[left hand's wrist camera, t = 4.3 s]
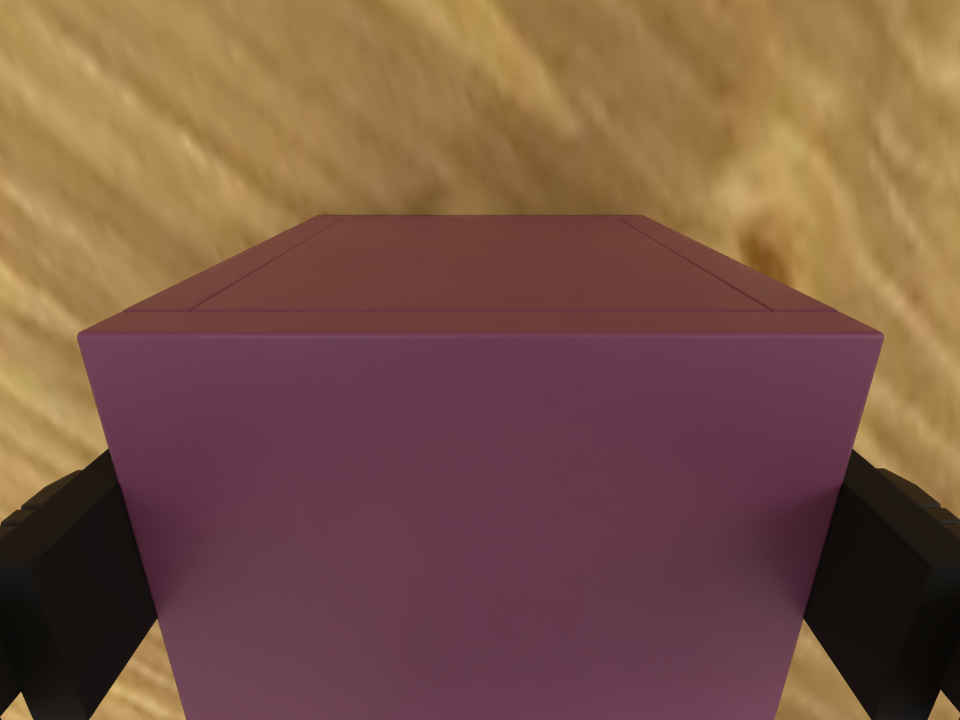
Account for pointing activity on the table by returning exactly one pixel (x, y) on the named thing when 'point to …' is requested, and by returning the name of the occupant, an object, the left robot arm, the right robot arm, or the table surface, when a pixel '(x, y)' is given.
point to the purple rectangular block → (480, 470)
